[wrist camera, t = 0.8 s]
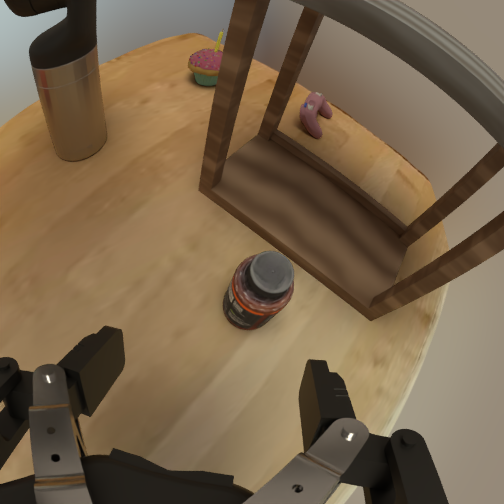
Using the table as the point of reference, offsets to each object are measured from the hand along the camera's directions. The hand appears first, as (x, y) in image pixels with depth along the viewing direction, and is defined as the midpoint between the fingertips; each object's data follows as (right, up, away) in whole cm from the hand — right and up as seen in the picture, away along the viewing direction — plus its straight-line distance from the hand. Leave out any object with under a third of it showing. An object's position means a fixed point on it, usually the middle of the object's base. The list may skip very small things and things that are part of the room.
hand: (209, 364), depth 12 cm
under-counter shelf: (+11, +10, +32) cm, 35 cm away
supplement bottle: (+1, -2, +24) cm, 24 cm away
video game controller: (+13, +30, +43) cm, 54 cm away
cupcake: (-7, +39, +42) cm, 58 cm away
